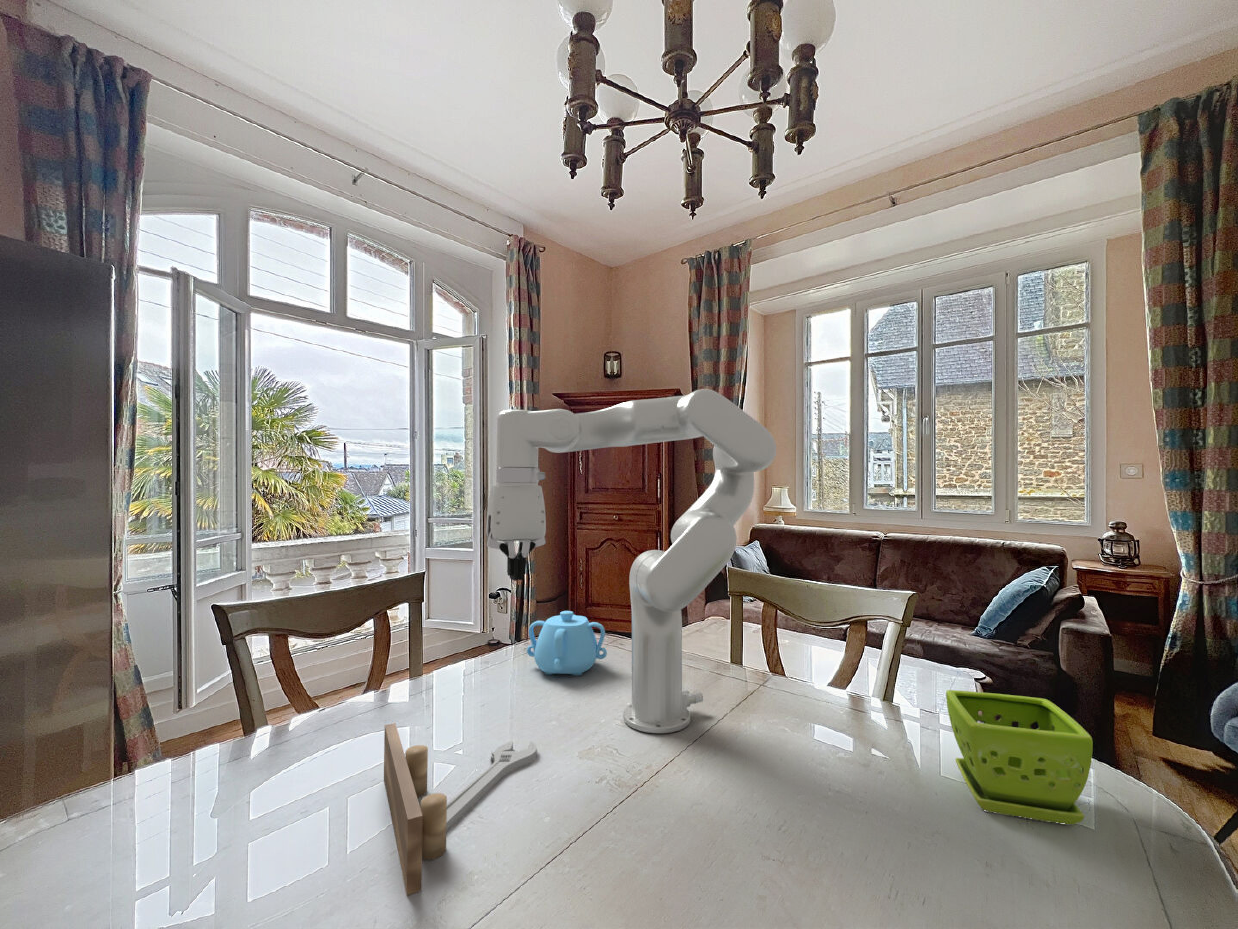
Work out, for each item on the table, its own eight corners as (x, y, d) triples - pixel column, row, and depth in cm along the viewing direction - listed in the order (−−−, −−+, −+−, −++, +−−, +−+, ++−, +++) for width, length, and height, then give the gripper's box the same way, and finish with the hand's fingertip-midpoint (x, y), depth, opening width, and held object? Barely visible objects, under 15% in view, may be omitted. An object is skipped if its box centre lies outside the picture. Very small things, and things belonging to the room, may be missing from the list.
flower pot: (1052, 784, 80) (1050, 697, 80) (1101, 843, 67) (1098, 739, 67) (944, 768, 85) (943, 685, 85) (970, 820, 71) (968, 722, 72)
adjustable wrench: (432, 849, 66) (432, 834, 66) (393, 835, 69) (393, 821, 69) (542, 755, 89) (542, 744, 89) (510, 747, 92) (510, 736, 92)
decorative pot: (521, 665, 132) (521, 609, 133) (579, 654, 141) (579, 601, 141) (550, 686, 119) (550, 624, 119) (612, 672, 127) (612, 614, 128)
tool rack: (420, 770, 83) (421, 718, 84) (456, 878, 61) (457, 806, 61) (383, 779, 81) (384, 725, 81) (406, 895, 58) (407, 819, 58)
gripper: (548, 478, 105) (547, 573, 105) (471, 478, 98) (469, 579, 98) (563, 478, 99) (562, 579, 98) (481, 477, 92) (480, 586, 91)
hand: (516, 579), depth 98 cm, fingers closed
